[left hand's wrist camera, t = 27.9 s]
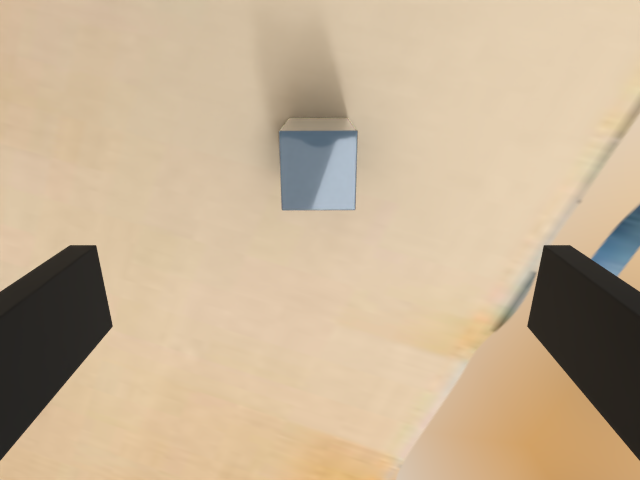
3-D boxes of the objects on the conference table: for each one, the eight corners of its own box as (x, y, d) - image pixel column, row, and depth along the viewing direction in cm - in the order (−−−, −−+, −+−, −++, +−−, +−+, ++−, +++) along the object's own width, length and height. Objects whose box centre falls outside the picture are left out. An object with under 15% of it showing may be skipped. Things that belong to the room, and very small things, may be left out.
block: (290, 179, 39) (281, 210, 29) (288, 117, 37) (278, 130, 27) (346, 179, 39) (355, 210, 29) (348, 117, 37) (357, 130, 27)
